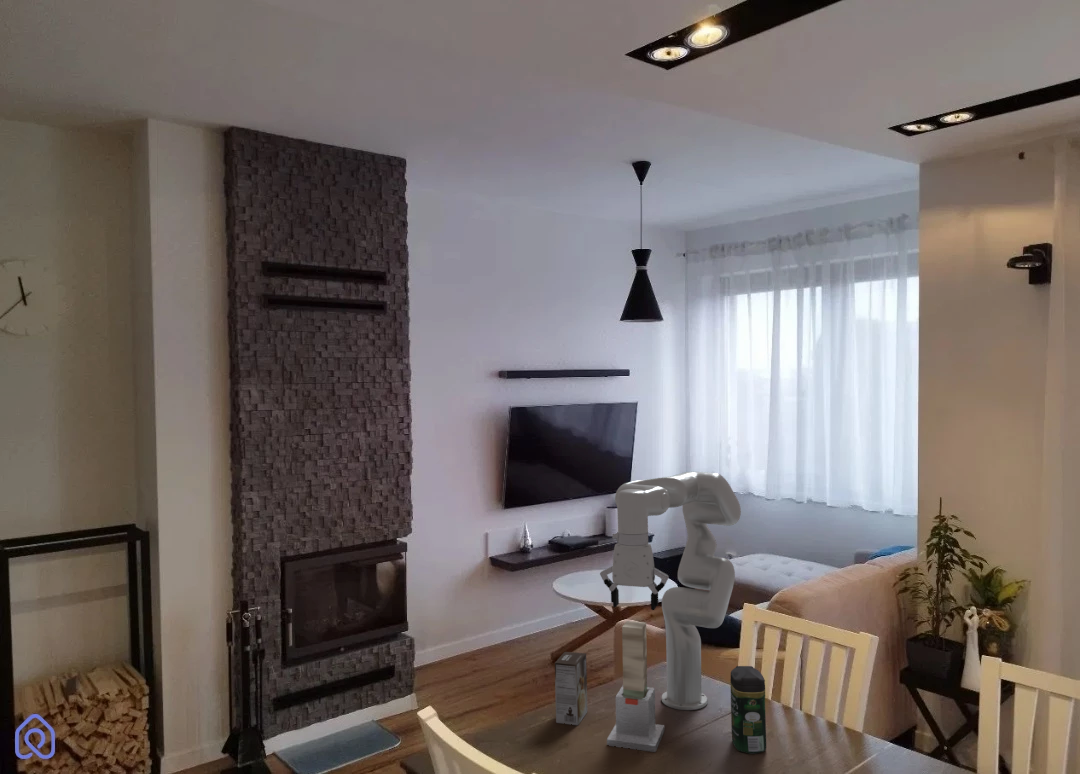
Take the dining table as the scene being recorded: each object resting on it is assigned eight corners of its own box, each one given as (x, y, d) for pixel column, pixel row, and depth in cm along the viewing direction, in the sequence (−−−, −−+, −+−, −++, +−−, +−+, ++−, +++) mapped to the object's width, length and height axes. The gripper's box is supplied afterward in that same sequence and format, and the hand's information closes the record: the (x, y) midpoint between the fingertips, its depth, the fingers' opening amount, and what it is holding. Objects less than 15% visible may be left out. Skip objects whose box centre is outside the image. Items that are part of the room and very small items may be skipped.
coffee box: (565, 709, 213) (564, 650, 213) (588, 712, 211) (587, 652, 211) (555, 723, 204) (554, 662, 204) (578, 726, 202) (577, 664, 202)
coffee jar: (728, 736, 194) (727, 662, 194) (760, 737, 194) (759, 662, 194) (735, 755, 185) (734, 677, 185) (769, 755, 184) (768, 677, 184)
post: (628, 699, 198) (626, 621, 198) (647, 701, 196) (646, 622, 196) (623, 707, 193) (622, 626, 193) (643, 709, 191) (642, 628, 191)
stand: (618, 725, 202) (617, 681, 202) (664, 731, 198) (663, 686, 198) (606, 745, 191) (606, 698, 191) (655, 752, 187) (654, 704, 187)
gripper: (595, 540, 194) (597, 608, 194) (664, 543, 188) (666, 614, 189) (603, 534, 201) (605, 600, 201) (670, 537, 195) (671, 605, 196)
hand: (634, 607), depth 195 cm, fingers open, 9 cm apart
